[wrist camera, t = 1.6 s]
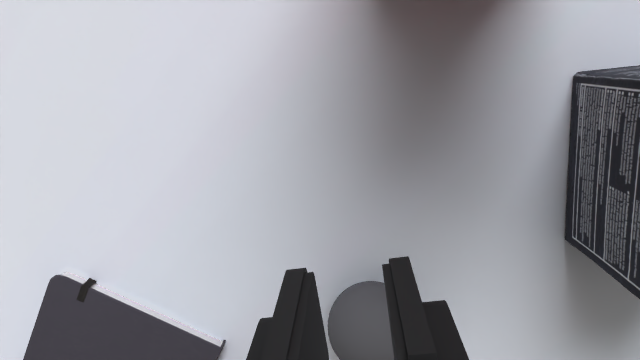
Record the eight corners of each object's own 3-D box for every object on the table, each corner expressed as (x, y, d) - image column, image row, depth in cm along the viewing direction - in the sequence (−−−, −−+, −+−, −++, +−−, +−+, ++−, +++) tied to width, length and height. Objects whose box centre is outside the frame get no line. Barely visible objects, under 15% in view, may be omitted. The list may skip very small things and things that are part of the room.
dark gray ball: (406, 261, 28) (420, 310, 23) (414, 332, 29) (428, 393, 24) (324, 270, 28) (318, 319, 23) (335, 339, 30) (333, 400, 25)
